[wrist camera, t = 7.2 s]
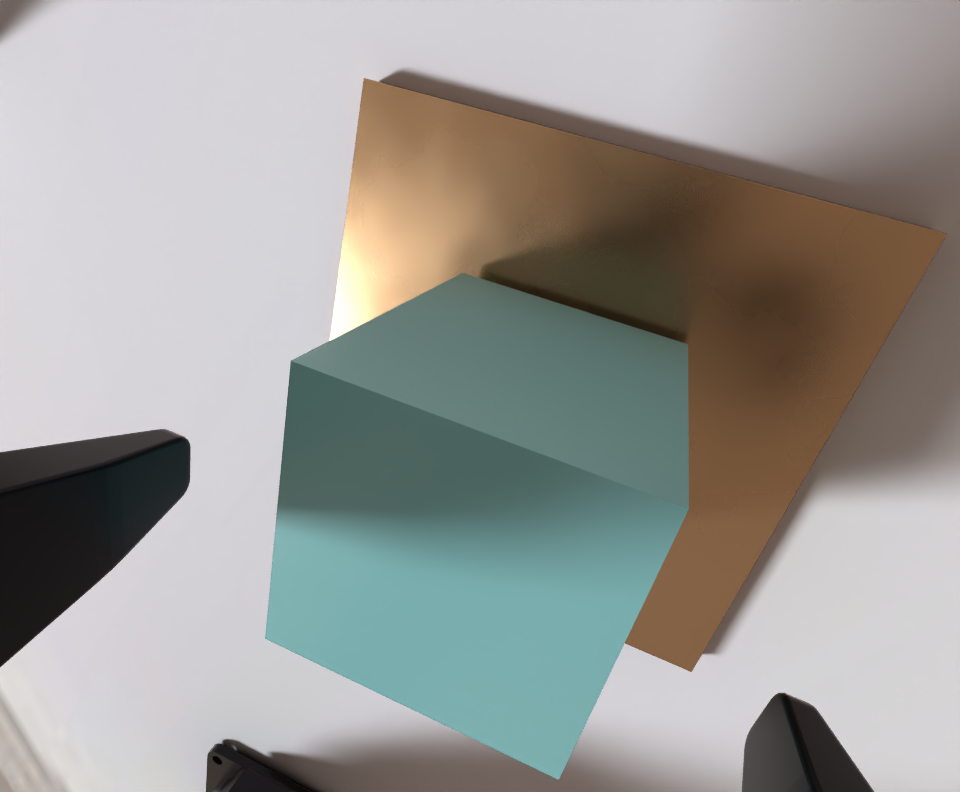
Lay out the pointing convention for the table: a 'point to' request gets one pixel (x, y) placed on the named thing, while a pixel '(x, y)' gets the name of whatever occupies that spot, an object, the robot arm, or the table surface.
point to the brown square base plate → (645, 300)
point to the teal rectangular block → (479, 507)
